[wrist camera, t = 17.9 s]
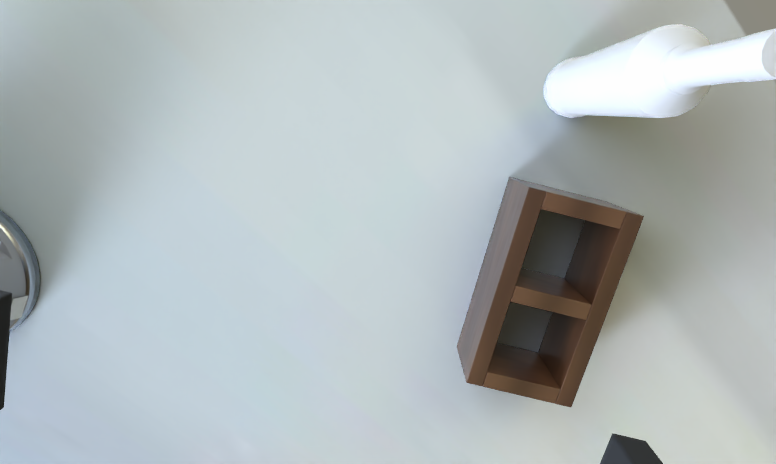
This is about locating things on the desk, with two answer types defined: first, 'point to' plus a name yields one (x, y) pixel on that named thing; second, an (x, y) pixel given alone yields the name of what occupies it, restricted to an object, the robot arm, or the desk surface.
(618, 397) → the desk surface
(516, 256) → the caddy
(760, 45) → the bottle
